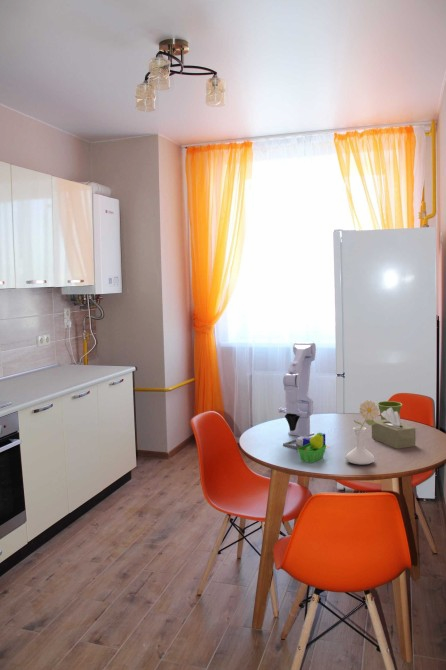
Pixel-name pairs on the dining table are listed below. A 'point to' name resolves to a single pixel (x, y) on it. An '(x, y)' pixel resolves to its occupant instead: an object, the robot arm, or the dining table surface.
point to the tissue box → (393, 431)
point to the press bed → (293, 445)
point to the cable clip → (307, 441)
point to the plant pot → (387, 404)
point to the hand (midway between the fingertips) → (292, 430)
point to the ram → (301, 440)
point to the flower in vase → (359, 452)
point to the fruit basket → (313, 449)
